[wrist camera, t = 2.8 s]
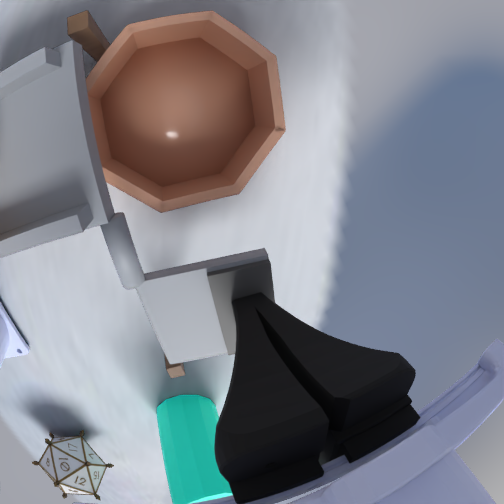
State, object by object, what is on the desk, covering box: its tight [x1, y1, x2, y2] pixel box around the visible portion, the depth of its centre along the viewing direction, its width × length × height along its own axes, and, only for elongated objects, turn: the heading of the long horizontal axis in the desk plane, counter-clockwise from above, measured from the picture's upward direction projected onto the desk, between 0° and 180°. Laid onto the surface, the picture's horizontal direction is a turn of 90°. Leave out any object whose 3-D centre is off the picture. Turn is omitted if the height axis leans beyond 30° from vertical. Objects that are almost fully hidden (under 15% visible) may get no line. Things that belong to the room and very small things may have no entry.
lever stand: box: [67, 10, 185, 378], centre depth 11 cm, size 9×17×6 cm, turn 8°
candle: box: [157, 395, 233, 504], centre depth 19 cm, size 6×6×12 cm
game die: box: [32, 430, 114, 501], centre depth 19 cm, size 9×8×10 cm
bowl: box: [86, 11, 286, 213], centre depth 12 cm, size 9×9×4 cm
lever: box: [0, 40, 275, 364], centre depth 9 cm, size 14×15×3 cm
